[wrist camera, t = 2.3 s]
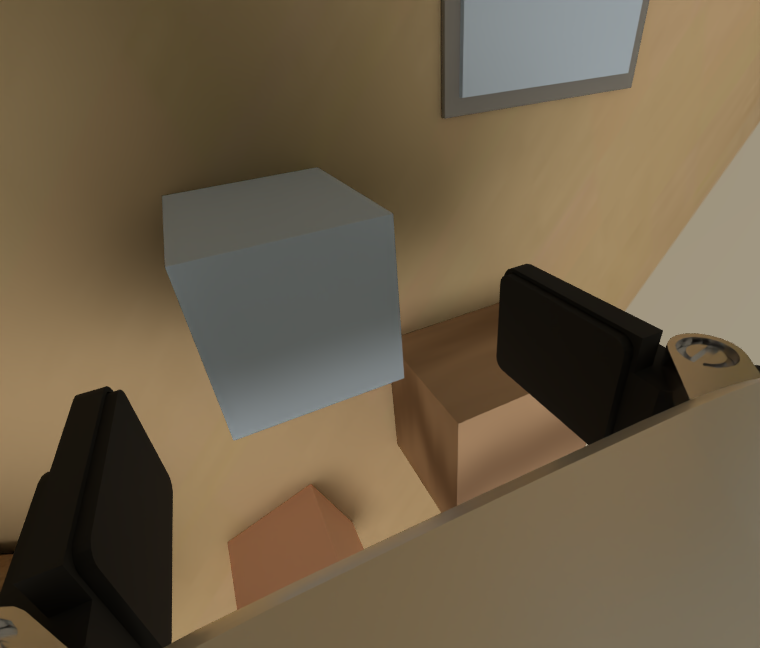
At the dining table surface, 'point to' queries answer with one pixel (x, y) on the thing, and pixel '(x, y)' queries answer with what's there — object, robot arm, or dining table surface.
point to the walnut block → (469, 412)
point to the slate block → (285, 293)
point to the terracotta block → (290, 545)
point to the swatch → (535, 51)
